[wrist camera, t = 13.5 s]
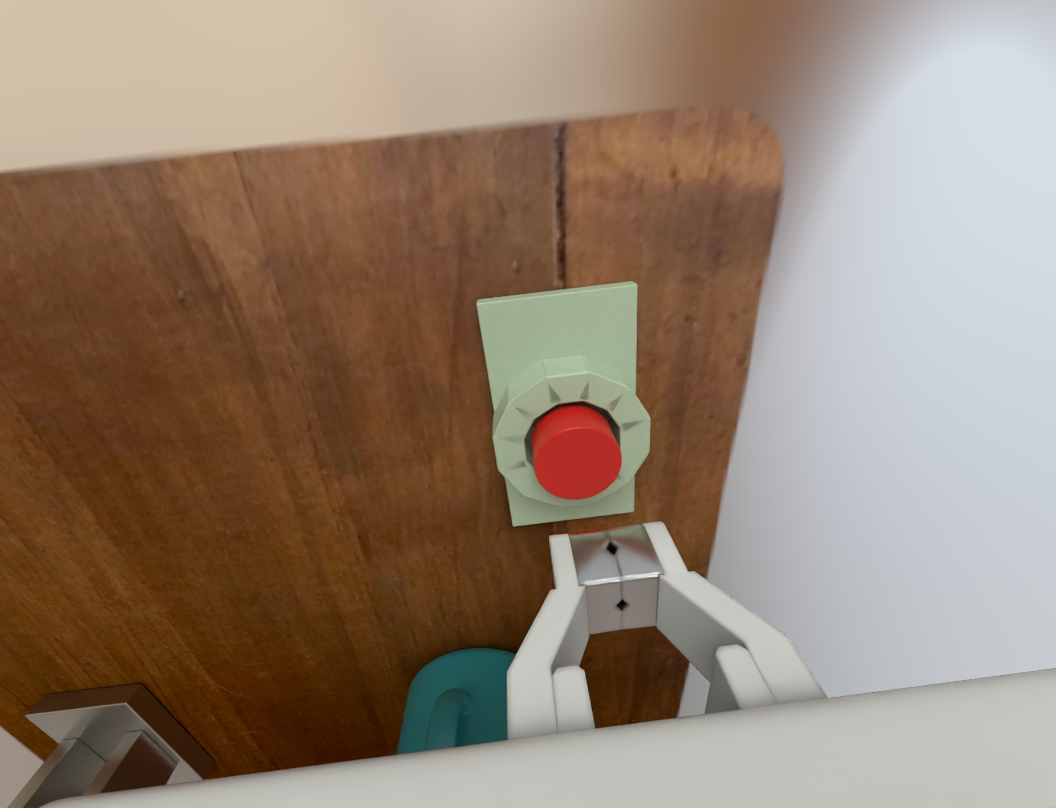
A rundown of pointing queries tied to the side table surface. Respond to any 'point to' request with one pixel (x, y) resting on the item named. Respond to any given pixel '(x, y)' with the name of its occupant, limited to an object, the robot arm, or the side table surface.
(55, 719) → the lever bracket
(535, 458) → the button
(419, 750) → the cup
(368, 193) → the side table surface
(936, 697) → the robot arm
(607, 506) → the button box
